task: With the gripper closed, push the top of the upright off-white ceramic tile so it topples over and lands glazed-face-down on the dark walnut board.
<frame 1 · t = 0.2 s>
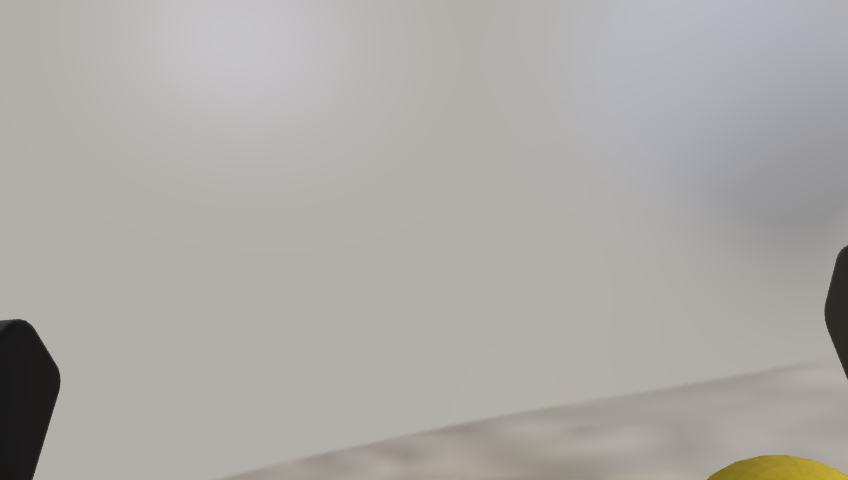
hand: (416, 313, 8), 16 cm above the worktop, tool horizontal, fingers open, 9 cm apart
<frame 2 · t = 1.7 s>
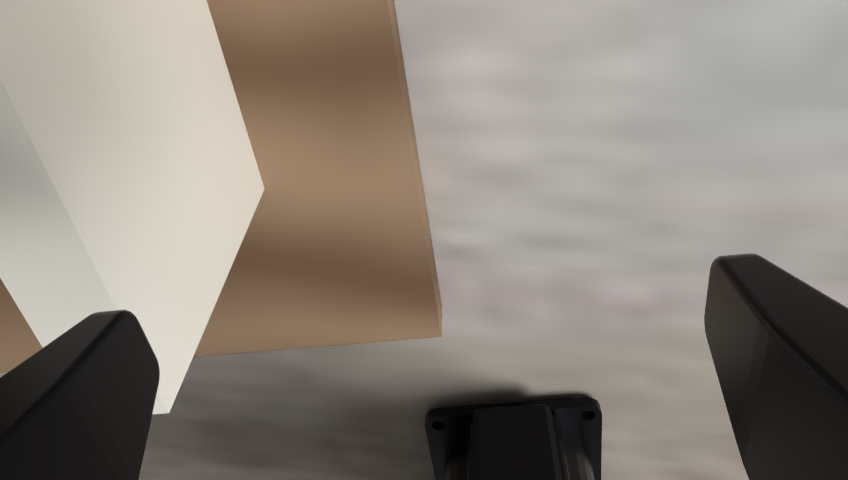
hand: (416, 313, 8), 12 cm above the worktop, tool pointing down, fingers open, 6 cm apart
board: (64, 50, 19), on the worktop
tile: (190, 52, 17), point 1 cm above the worktop, touching board
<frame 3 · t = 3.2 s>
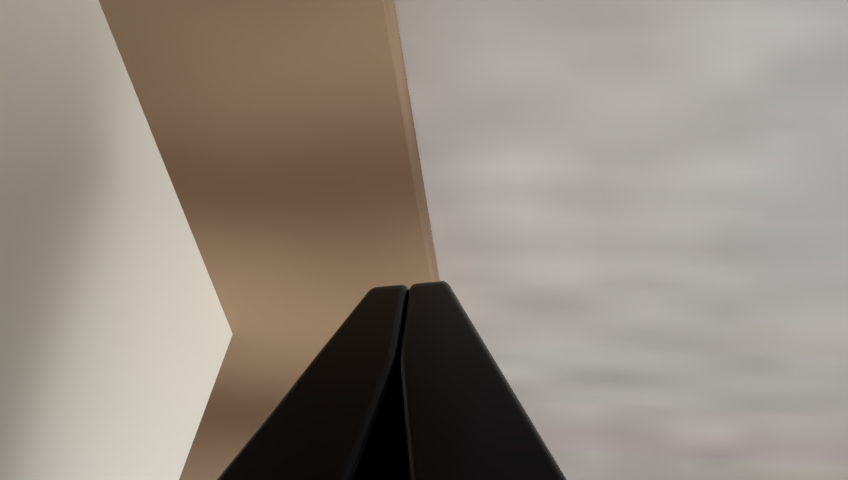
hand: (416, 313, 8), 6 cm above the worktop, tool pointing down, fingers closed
tile: (119, 167, 12), point 1 cm above the worktop, touching board
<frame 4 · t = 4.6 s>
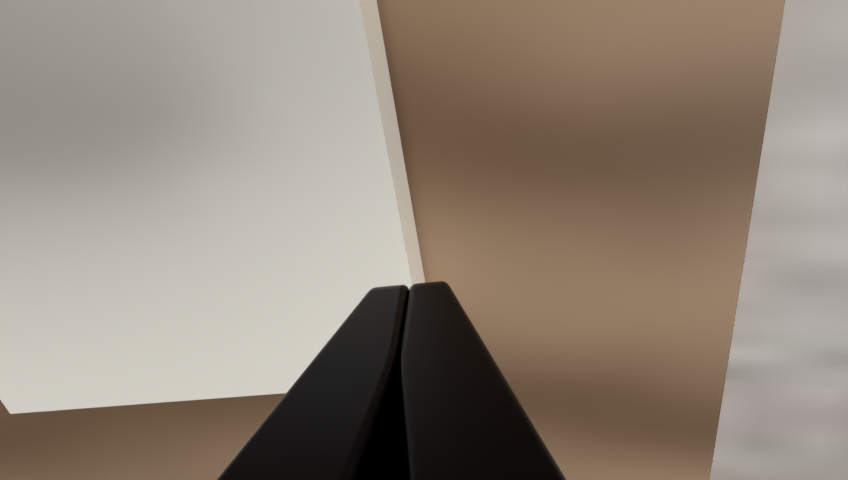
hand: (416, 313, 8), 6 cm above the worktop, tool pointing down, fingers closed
board: (240, 117, 13), on the worktop
tile: (397, 162, 11), point 2 cm above the worktop, tilted 90°, touching board
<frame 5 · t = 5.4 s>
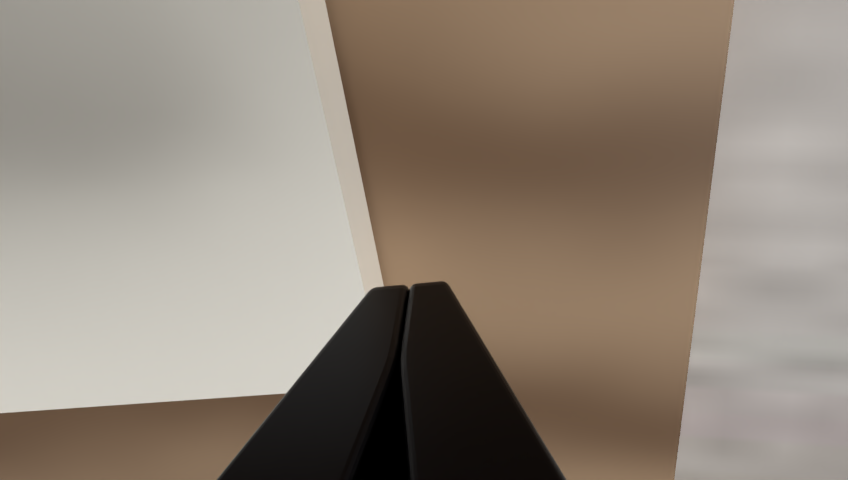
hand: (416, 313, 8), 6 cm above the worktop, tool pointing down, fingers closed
board: (200, 120, 13), on the worktop
tile: (348, 168, 11), point 2 cm above the worktop, tilted 90°, touching board
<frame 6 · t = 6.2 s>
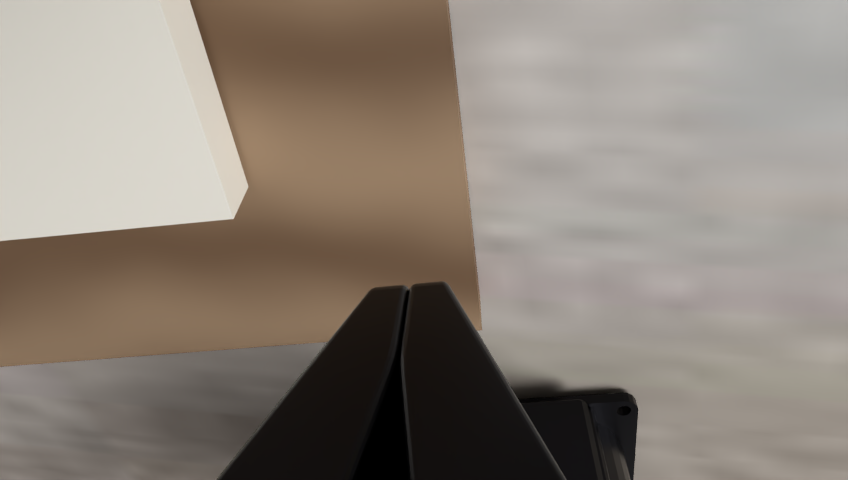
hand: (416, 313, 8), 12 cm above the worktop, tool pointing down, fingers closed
board: (107, 35, 18), on the worktop
tile: (193, 55, 16), point 2 cm above the worktop, tilted 90°, touching board
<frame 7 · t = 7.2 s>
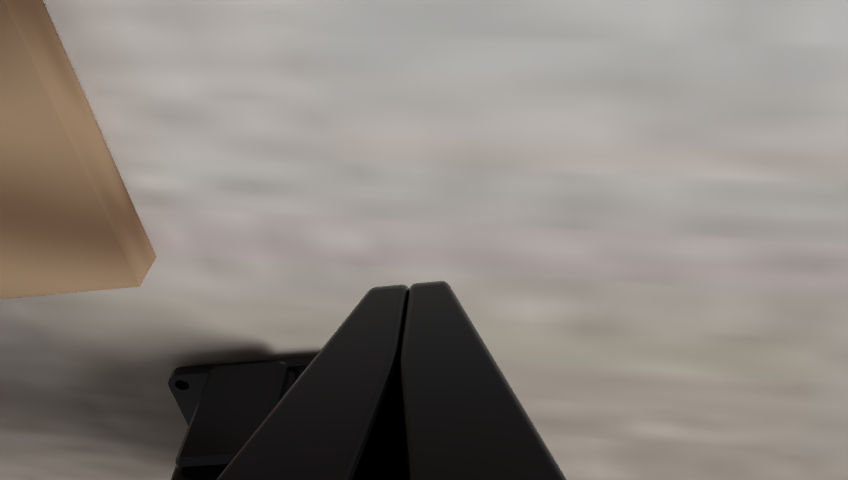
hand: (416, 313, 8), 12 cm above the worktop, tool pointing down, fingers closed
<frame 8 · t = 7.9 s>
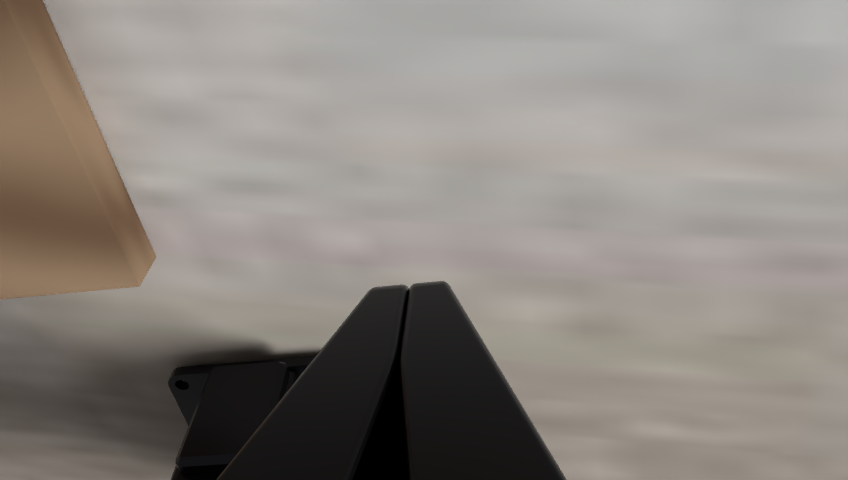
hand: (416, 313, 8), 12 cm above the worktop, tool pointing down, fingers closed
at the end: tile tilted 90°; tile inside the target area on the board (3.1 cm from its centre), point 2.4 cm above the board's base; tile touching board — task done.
